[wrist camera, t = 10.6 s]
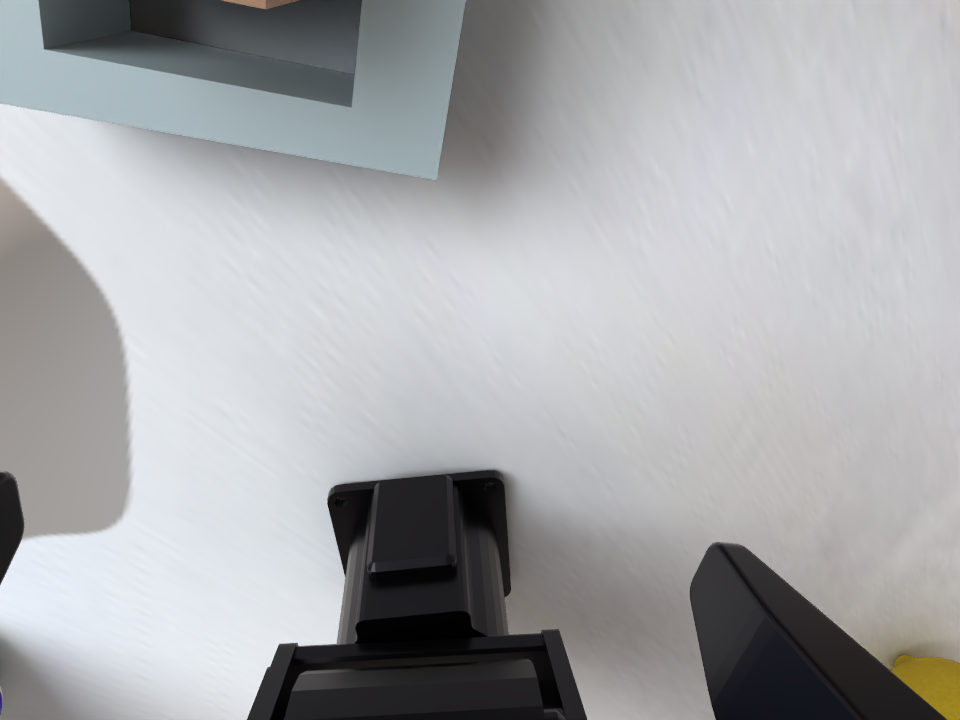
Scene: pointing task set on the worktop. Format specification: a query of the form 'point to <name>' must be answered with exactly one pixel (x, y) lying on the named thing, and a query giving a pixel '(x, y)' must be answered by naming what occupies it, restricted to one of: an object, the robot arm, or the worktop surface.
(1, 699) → the beer can
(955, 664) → the lemon
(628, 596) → the worktop surface
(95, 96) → the light blue tray
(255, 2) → the brown rectangular block
